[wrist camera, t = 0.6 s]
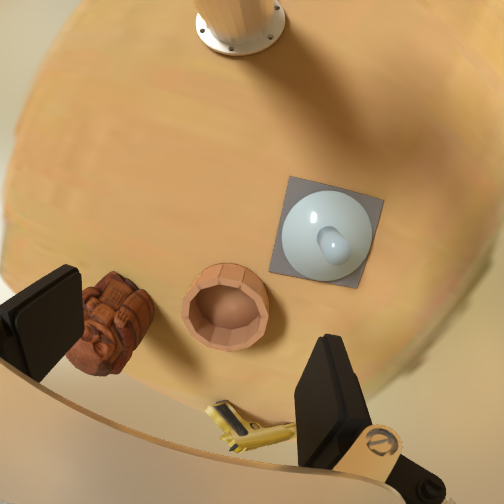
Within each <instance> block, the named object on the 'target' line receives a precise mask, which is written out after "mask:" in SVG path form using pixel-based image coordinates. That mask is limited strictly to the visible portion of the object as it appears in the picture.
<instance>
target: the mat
mask: <svg viewBox="0 0 504 504" xmlns="http://www.w3.org/2000/svg"><path fill="white" fill-rule="evenodd" d="M324 190H332V191H338V192H341V193H344V194H346V195H348V196H350V197H352V198H353V199H355V200H356V201H357V202H358V203H359V204H361V206H362V207H363V208H364V209H365V211H366V213H367V214H368V217H369V219H370V222H371V227H372V241H373V238H374V234H375V231H376V227H377V224H378V220H379V217H380V213H381V209H382V206H383V202H384V200H381V199H378V198H374V197H371V196H367V195H364V194H360V193H356V192H353V191H349V190H345V189H341V188H338V187H334V186H330V185H326V184H322V183H318V182H313V181H309V180H305V179H300V178H296V177H291V176H290V177H289V181H288V186H287V191H286V196H285V200H284V205H283V209H282V214H281V218H280V223H279V227H278V232H277V236H276V241H275V245H274V250H273V254H272V259H271V263H270V267H269V272H273V273H278V274H284V275H289V276H294V277H299V278H304V279H310V278H308V277H305V276H304V275H302V274H300V273H299V272H298V271H296V270H295V269H294V268H293V267H292V265H291V264H290V263H289V261H288V260H287V258H286V256H285V253H284V250H283V246H282V227H283V224H284V220H285V218H286V216H287V214H288V212H289V211H290V209H291V208H292V207H293V206H294V205H295V204H296V203H297V202H298V201H299V200H300V199H302V198H303V197H305V196H307V195H309V194H311V193H314V192H318V191H324ZM372 241H371V244H372ZM370 247H371V246H370ZM369 251H370V249H369ZM368 254H369V252H368ZM368 254H367V256H366V258H365V259H364V261H363V262H362V263H361V265H360V266H359V267H358V268H357V269H355V270H354V271H353V272H352V273H350V274H349V275H347V276H345V277H342V278H340V279H336V280H331V281H320V282H325V283H331V284H336V285H341V286H347V287H352V288H357V286H358V284H359V281H360V278H361V275H362V272H363V269H364V266H365V263H366V260H367V257H368ZM310 280H314V279H310ZM315 281H318V280H315Z"/></svg>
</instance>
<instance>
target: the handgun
mask: <svg viewBox="0 0 504 504" xmlns="http://www.w3.org/2000/svg"><path fill="white" fill-rule="evenodd" d="M205 412H206V413H207V414H208V415H209V416H210V417H211V418H212V419H213V421H214V422H215V423H216V424H217V425H218V426H219V427H220V428H221V429H222V430H223V431H224V433H225V435H222V436H221V437H220V439H221V440H222V441H224V442H227V443H228V444H229V446H230V450H229V451H234V452H235V453H239V452H240V453H243V452H244V451H248V450H252V449H256V448H258V447H262V446H266V445H272V444H276V443H279V442H283V441H286V440H289V439H293V438H297V431H296V423H290V424H286V425H278V426H274V427H269V428H265V427H262V426H260V424H259V423H257V422H247V421H245V420H243V419H242V418H241V417H240V415H239V414H238V413H237V412H236V411H235V410H234V409H233V407H232V406H231V405H230V404H229V403H228V400H223V401H219V402H216V403H215V404H213V405H209V406H208V408H207V409H206V410H205ZM254 423H255V424H257V425H259V429H254V428H253V427H252V424H254Z"/></svg>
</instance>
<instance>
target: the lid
mask: <svg viewBox="0 0 504 504" xmlns="http://www.w3.org/2000/svg"><path fill="white" fill-rule="evenodd" d="M371 241H372V227H371V222H370V219H369V217H368V214H367V213H366V211H365V209H364V208H363V207H362V206H361V204H359V203H358V202H357V201H356V200H355V199H353V198H352V197H350V196H348V195H346V194H344V193H341V192H338V191H332V190H324V191H318V192H314V193H311V194H309V195H307V196H305V197H303V198H302V199H300V200H299V201H298V202H297V203H296V204H295V205H294V206H293V207H292V208H291V209H290V211H289V212H288V214H287V216H286V218H285V220H284V224H283V227H282V246H283V250H284V253H285V256H286V258H287V260H288V261H289V263H290V264H291V265H292V267H293V268H294V269H295V270H296V271H298V272H299V273H300V274H302V275H304V276H305V277H308V278H310V279H314V280H318V281H331V280H336V279H340V278H342V277H345V276H347V275H349V274H350V273H352V272H353V271H354V270H355V269H357V268H358V267H359V266H360V265H361V263H362V262H363V261H364V259H365V258H366V256H367V254H368V252H369V249H370V246H371Z"/></svg>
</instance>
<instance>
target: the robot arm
mask: <svg viewBox="0 0 504 504" xmlns="http://www.w3.org/2000/svg"><path fill="white" fill-rule="evenodd" d="M191 1H192V3H193V4H194V6H195V8H196V10H197V11H198V14H197V17H196V22H195V23H196V31H197V34H198V36H199V37H200V39H201V40H202V42H203V43H204V44H205V45H206V46H208V47H209V48H210V49H212V50H214V51H216V52H218V53H221V54H224V55H231V56H244V55H251V54H254V53H257V52H260V51H262V50H264V49H267V48H268V47H269V46H271V45H272V44H274V43H275V42H276V41H277V40H278V39H279V37H280V36H281V34H282V32H283V29H284V27H285V13H284V10H283V8H282V6H281V4H280V3H279V2H278V1H277V0H191ZM203 32H204V33H203ZM269 38H271V39H272V40H269ZM231 50H234V51H231ZM84 331H85V324H84V313H83V299H82V277H81V274H80V273H79V270H78V269H77V268H76V267H73V266H70V265H67V264H65V265H63V266H61V267H59V268H57V269H56V270H54V271H52V272H51V273H49V274H48V275H46V276H44V277H43V278H41V279H39V280H38V281H36V282H35V283H33V284H31V285H30V286H28V287H27V288H25V289H24V290H22V291H21V292H19V293H18V294H16V295H15V296H13V297H12V298H10V299H9V300H7V301H6V302H4V303H3V304H1V305H0V504H456V503H455V502H454V501H453V500H452V499H451V498H450V499H448V500H447V499H446V498H445V496H446V488H445V485H444V483H443V481H442V480H441V479H440V478H439V477H437V476H436V475H434V474H433V473H431V472H429V471H428V470H425V469H424V468H422V467H421V466H419V465H417V464H416V463H414V462H413V461H411V460H409V459H408V458H406V457H405V456H403V455H402V454H400V453H401V450H402V441H401V439H400V437H399V436H398V434H397V433H396V432H395V431H393V430H392V429H390V428H389V427H386V426H383V425H372V421H371V418H370V415H369V412H368V409H367V406H366V402H365V399H364V396H363V393H362V390H361V387H360V384H359V381H358V378H357V376H356V374H355V373H354V372H353V369H352V366H351V363H350V360H349V358H348V355H347V352H346V349H345V346H344V343H343V340H342V338H341V336H337V335H331V334H325V335H324V336H323V337H319V338H318V340H317V342H316V344H315V347H314V349H313V351H312V354H311V356H310V358H309V360H308V363H307V365H306V367H305V369H304V372H303V374H302V376H301V378H300V380H299V382H298V384H297V386H296V389H295V394H294V399H295V414H296V431H297V449H298V465H299V466H288V465H278V464H271V463H264V462H257V461H251V460H245V459H239V458H233V457H228V456H224V455H219V454H214V453H210V452H206V451H201V450H197V449H193V448H189V447H186V446H182V445H178V444H175V443H172V442H169V441H165V440H162V439H159V438H156V437H153V436H150V435H148V434H145V433H142V432H139V431H136V430H134V429H131V428H128V427H126V426H123V425H121V424H118V423H116V422H114V421H111V420H109V419H107V418H104V417H102V416H100V415H98V414H96V413H93V412H91V411H89V410H87V409H85V408H83V407H81V406H79V405H77V404H75V403H73V402H71V401H69V400H67V399H66V398H64V397H62V396H60V395H58V394H56V393H55V392H53V391H51V390H49V389H48V388H46V387H44V386H43V385H41V384H39V383H40V382H41V381H42V380H43V378H44V377H45V376H46V375H47V374H48V373H49V372H50V370H51V369H52V368H53V367H54V366H55V365H56V364H57V363H58V362H59V361H60V359H61V358H62V357H63V356H64V355H65V354H66V353H67V352H68V351H69V350H70V349H71V348H72V347H73V345H74V344H75V343H76V342H77V341H78V340H79V339H80V338H81V337H82V336H83V334H84Z"/></svg>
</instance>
